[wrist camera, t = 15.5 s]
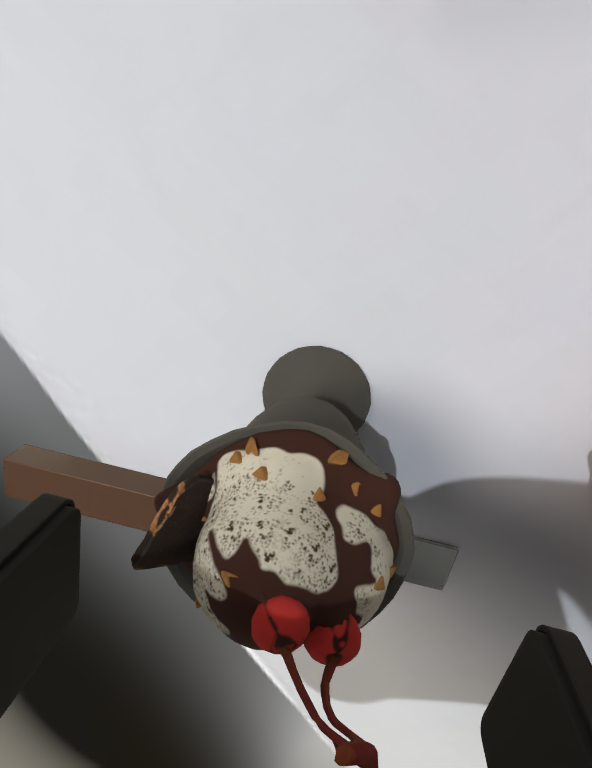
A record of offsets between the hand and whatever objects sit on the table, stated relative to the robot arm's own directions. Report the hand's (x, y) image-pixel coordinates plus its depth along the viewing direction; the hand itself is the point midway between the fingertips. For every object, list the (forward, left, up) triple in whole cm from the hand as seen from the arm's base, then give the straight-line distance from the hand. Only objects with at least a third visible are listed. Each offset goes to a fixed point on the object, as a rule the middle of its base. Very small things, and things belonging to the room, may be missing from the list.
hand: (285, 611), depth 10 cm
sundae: (0, 0, -13) cm, 13 cm away
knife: (+2, +8, -13) cm, 15 cm away
